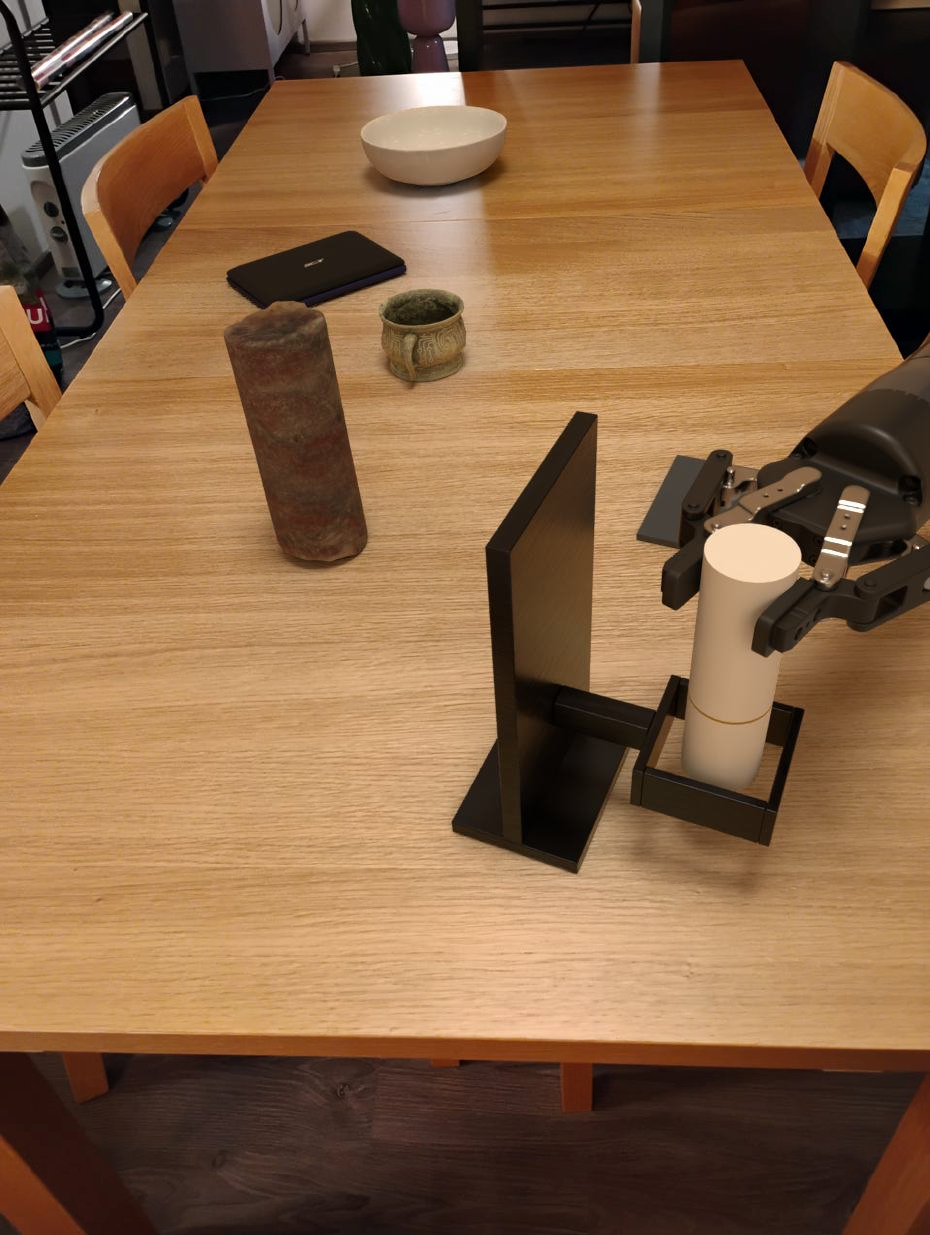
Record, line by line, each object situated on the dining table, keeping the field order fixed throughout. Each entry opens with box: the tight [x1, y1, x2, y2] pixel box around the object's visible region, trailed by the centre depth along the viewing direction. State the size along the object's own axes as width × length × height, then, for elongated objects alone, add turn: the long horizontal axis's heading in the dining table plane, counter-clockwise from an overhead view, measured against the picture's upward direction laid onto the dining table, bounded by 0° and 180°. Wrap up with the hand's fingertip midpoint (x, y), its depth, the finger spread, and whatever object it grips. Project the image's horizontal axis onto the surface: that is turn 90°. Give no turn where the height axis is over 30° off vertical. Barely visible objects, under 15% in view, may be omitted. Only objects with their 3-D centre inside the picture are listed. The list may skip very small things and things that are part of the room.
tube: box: [679, 523, 802, 793], centre depth 50 cm, size 4×4×15 cm
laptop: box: [225, 230, 407, 310], centre depth 120 cm, size 16×20×2 cm
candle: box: [223, 301, 368, 562], centre depth 75 cm, size 8×7×20 cm
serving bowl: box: [359, 105, 508, 187], centre depth 142 cm, size 21×21×7 cm
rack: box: [451, 410, 806, 874], centre depth 53 cm, size 18×12×23 cm
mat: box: [635, 454, 760, 550], centre depth 81 cm, size 12×12×1 cm
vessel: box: [378, 288, 467, 383], centre depth 101 cm, size 12×9×6 cm
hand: (714, 615), depth 45 cm, fingers closed on tube, 4 cm apart
